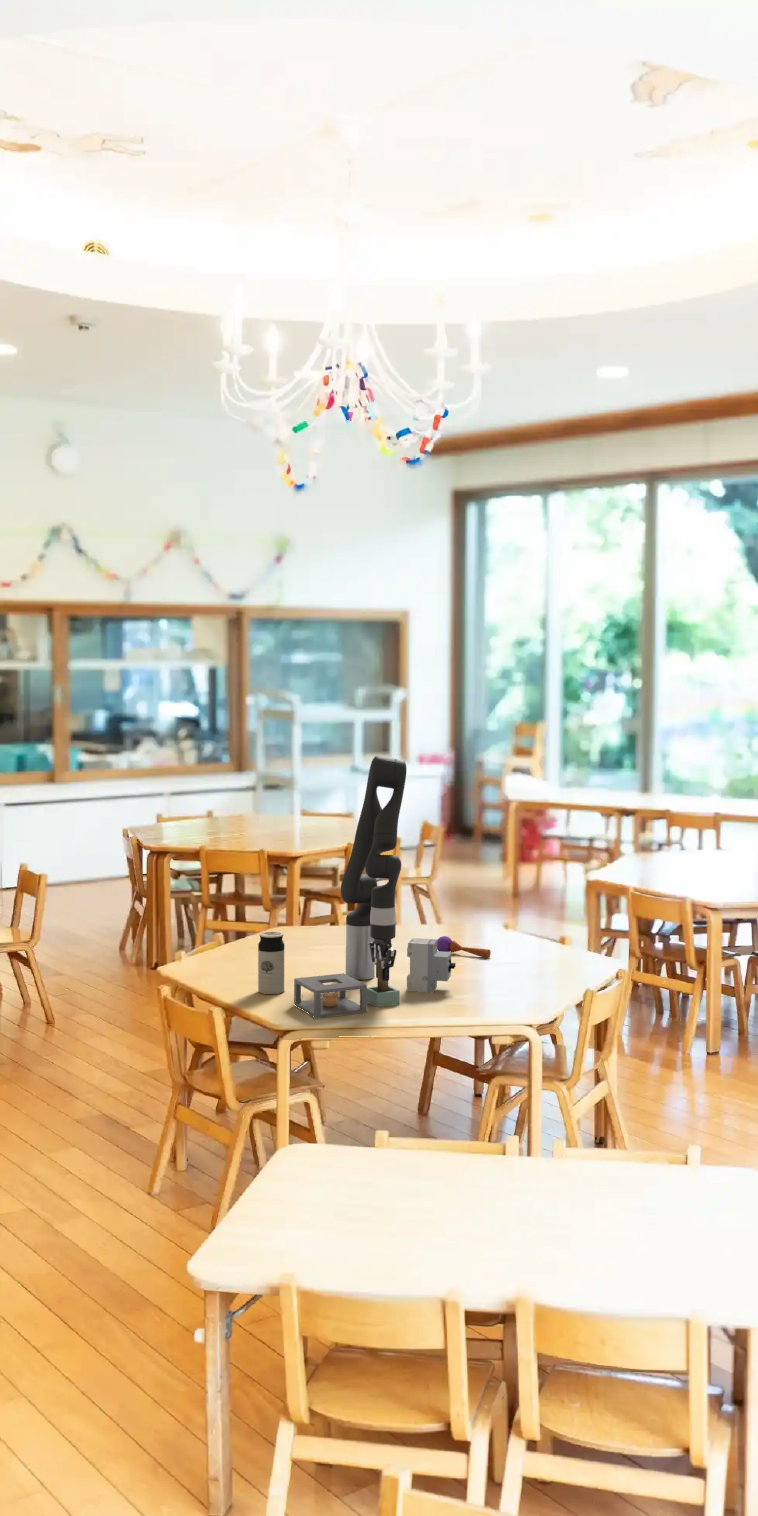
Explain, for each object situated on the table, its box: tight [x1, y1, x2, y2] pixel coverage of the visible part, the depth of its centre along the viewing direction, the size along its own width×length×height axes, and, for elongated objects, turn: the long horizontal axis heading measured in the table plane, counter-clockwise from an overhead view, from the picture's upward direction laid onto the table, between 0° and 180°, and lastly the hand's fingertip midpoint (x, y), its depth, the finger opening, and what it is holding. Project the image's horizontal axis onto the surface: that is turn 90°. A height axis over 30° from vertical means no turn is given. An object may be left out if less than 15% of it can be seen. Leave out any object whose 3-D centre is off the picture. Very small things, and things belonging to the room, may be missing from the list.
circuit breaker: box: [406, 937, 456, 993], centre depth 420 cm, size 8×14×15 cm, turn 78°
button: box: [322, 992, 339, 1007], centre depth 396 cm, size 4×4×3 cm
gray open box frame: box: [293, 972, 368, 1019], centre depth 396 cm, size 16×16×8 cm
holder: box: [367, 984, 401, 1008], centre depth 404 cm, size 8×8×4 cm
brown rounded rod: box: [376, 953, 389, 993], centre depth 404 cm, size 3×3×14 cm
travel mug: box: [257, 930, 285, 995], centre depth 416 cm, size 8×8×18 cm
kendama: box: [437, 935, 492, 960], centre depth 470 cm, size 6×6×20 cm
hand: (382, 978), depth 404 cm, fingers closed on brown rounded rod, 3 cm apart
